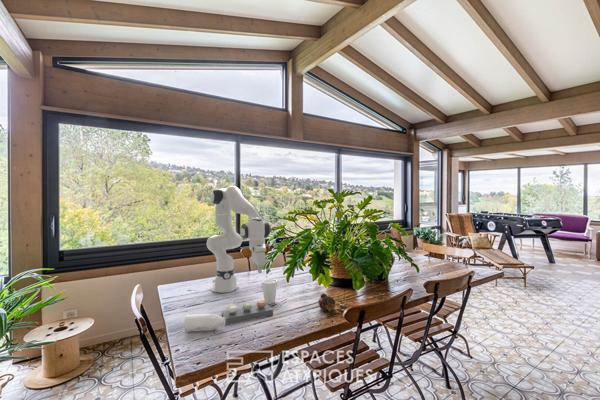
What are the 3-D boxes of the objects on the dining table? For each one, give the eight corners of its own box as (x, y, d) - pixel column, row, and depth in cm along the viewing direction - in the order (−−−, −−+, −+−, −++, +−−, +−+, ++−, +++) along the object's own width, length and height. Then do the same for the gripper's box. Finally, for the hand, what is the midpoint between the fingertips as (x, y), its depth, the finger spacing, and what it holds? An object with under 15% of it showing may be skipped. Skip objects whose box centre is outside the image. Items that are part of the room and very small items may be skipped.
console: (221, 317, 155) (221, 311, 155) (266, 308, 166) (266, 303, 166) (225, 324, 146) (225, 318, 146) (272, 314, 157) (272, 309, 157)
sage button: (242, 312, 157) (242, 303, 157) (250, 310, 159) (250, 302, 159) (244, 315, 153) (244, 306, 153) (252, 313, 155) (252, 305, 155)
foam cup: (260, 300, 179) (260, 279, 179) (274, 298, 182) (274, 278, 182) (264, 305, 170) (264, 284, 170) (279, 303, 174) (278, 282, 173)
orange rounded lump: (256, 309, 160) (256, 301, 160) (264, 308, 162) (263, 299, 162) (258, 312, 156) (258, 304, 156) (266, 311, 158) (266, 302, 158)
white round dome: (227, 315, 153) (227, 306, 153) (236, 313, 155) (235, 305, 155) (229, 318, 149) (229, 309, 149) (238, 316, 151) (238, 307, 151)
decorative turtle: (328, 303, 172) (328, 291, 172) (340, 315, 158) (341, 301, 157) (313, 305, 169) (314, 292, 168) (324, 317, 154) (325, 303, 154)
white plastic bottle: (223, 333, 137) (223, 317, 137) (183, 335, 135) (183, 318, 135) (226, 325, 145) (226, 310, 145) (188, 327, 143) (188, 311, 143)
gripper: (248, 244, 169) (249, 267, 169) (255, 249, 149) (255, 275, 149) (259, 243, 171) (259, 266, 171) (266, 248, 152) (267, 274, 151)
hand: (258, 270), depth 160 cm, fingers open, 8 cm apart
